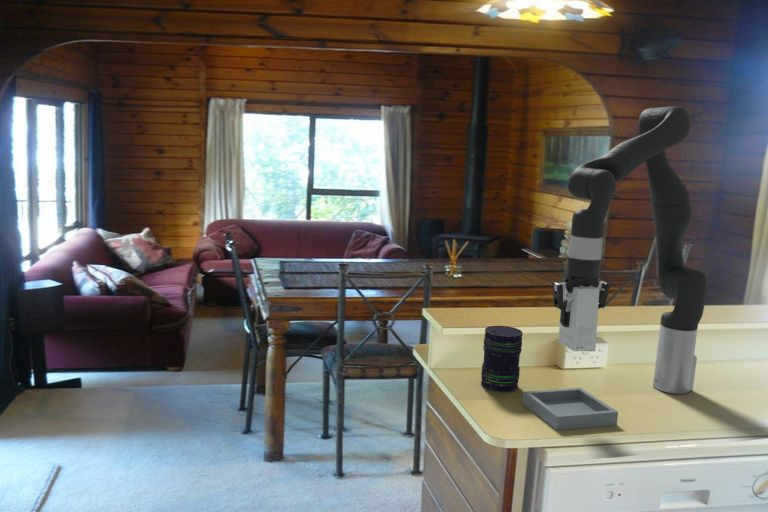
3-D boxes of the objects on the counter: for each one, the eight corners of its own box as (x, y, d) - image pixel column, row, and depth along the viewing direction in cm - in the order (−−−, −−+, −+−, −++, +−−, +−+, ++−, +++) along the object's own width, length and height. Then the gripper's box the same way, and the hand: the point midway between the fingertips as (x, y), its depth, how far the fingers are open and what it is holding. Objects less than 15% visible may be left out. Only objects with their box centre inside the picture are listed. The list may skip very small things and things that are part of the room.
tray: (579, 399, 188) (580, 387, 187) (616, 424, 173) (618, 411, 172) (522, 403, 183) (523, 391, 182) (556, 430, 168) (557, 416, 167)
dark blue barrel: (507, 378, 201) (511, 324, 198) (525, 391, 192) (530, 335, 189) (474, 380, 198) (478, 326, 195) (490, 393, 189) (495, 337, 186)
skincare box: (595, 351, 172) (602, 289, 169) (571, 352, 170) (578, 289, 167) (578, 341, 180) (584, 281, 177) (555, 341, 178) (561, 281, 175)
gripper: (602, 252, 176) (595, 320, 180) (548, 252, 172) (542, 322, 175) (621, 258, 169) (613, 329, 172) (565, 258, 165) (558, 331, 168)
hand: (577, 325), depth 174 cm, fingers closed on skincare box, 6 cm apart
